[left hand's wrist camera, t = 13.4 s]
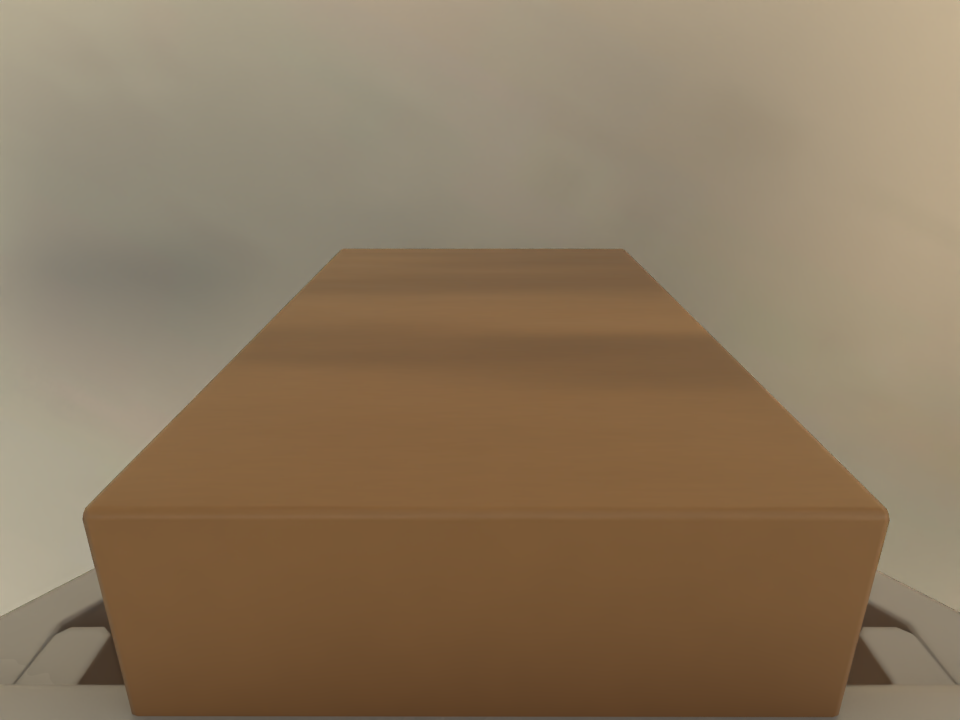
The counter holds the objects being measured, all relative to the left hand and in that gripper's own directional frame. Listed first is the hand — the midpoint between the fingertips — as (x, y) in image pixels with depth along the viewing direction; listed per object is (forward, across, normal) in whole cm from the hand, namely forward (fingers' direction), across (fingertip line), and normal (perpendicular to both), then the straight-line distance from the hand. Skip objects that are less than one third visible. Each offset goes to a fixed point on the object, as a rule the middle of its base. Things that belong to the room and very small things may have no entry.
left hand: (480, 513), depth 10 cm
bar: (+3, 0, +9) cm, 9 cm away
